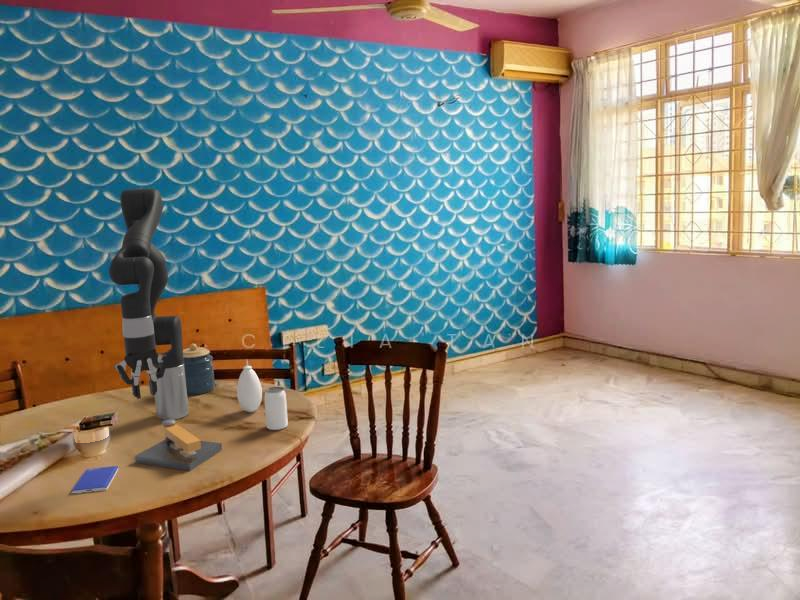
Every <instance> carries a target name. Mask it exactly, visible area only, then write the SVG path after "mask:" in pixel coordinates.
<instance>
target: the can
mask: <svg viewBox="0 0 800 600" xmlns="http://www.w3.org/2000/svg"><path fill="white" fill-rule="evenodd" d="M264 391H265V392H264V409H265V423H266V428H267V429H268V430H270V431H281V430H284V429H286V428H287V426H288V425H289V423H288V422H289V421H288V405H287V394H286V391H285V388H284V387H282V386H271V387H267V388H266V389H265V390H264Z"/></svg>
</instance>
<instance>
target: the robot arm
mask: <svg viewBox="0 0 800 600" xmlns="http://www.w3.org/2000/svg"><path fill="white" fill-rule="evenodd" d="M162 198H163V197H162V195H161V193H160V191H159V189H156V188H152V187H151V188H150V187H148V188H134V189H133V188H131V189H129V188H127V189H124V190H122V191H121V193H120V197H119V199H120V200H119V201H120V208H121V212H122V217H123V220H124V224H125V227H126V232H125V234H124V236H123V240H122V245H121V248H120V249H119V251H118V252H117V253H116V254H115V256H114V257H113V259H112V260H111V262H110V265H109V269H108V275H109V278H110V280H111V281H112V282H113V284H115V285H117V286H130V285H133V286H134V285H137V287H138V290H137V291H134V292H131V293H127V294H124V295H122V296H121V297H120V308H121V315H122V322H121V324H122V326H121V327H122V335H123V343H124V344H123V345H124V351H125V353H124V354H125V356H124V359H123V361H121V362H119V363H118V362H117V363H115V364H114V368H115V370H116V372H117V374H118V375H119V376H120V378H121V380H122V381H123V382H124V384H126V385H128V386H129V385H131V389H132V390H131V391H132V395H133V397H135V398H136V399H141V398H142V397H141V387H140V384H139V381H140V377H141V373H142V372H144V371H146V373H147V375H148V378H149V380H148V385H149V393H150V395H151V396H154V402H155V411H156V417H157V418H159V419H160V420H163V421H165V420H170V419H173V420H178V419H181V418H184V417H187V416H188V415H189V413H190V411H189V410H190V409H189V402H188V401H189V400H188V395H187V388H186V378H185V368H184V359H183V350H184V347H183V330H182V329H183V328H182V322H181V318H180V317H179V316H178V315H165V316H156V314H155V313H156V312H155V311H156V306H157V304H158V302H159V300H160V298H161V296H162V294H163V292H164V290H165V288H166V287H167V284H168V280H169V274H168V267H167V262H166V258H165V256H164V255H163V254H162V252H161V251H160V250H159V248H158V247H156V246H155V244H154V243H152V241H153V237H154V234H155V232H156V230H157V228H158V225H159V223H160V221H161V218H162V215H163V209H164V208H163V207H164V206H163V199H162ZM169 345H170V349H168V350H167V351H165V352H162V353H161V354H159V353H158V351H157V349H156V348H157V346H169ZM126 366H128V367H129V368H130V370H131V371H130V375H131V376H130V377H131V378H130V377H129V375H128V374H127V372H126V370H127V367H126Z"/></svg>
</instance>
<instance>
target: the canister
mask: <svg viewBox="0 0 800 600" xmlns="http://www.w3.org/2000/svg"><path fill="white" fill-rule="evenodd" d="M210 354H211V351H210V350H209V349H207V348H205V347H203V346H201V347H200V346H197V344H196V343H191V344H190V345H189V347H188V348H185V349H184V348H183V359H184V368H185V378H186V388H187V396H195V395H196V396H197V395H202V394H207V393H209V392H212V391H213V390H214V389H215V388H216V387H215V385H216V381H215V374H214V373H215V371H214V364H213V363H212V360H213V359H214V358H213V356H212V354H211V355H210Z"/></svg>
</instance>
